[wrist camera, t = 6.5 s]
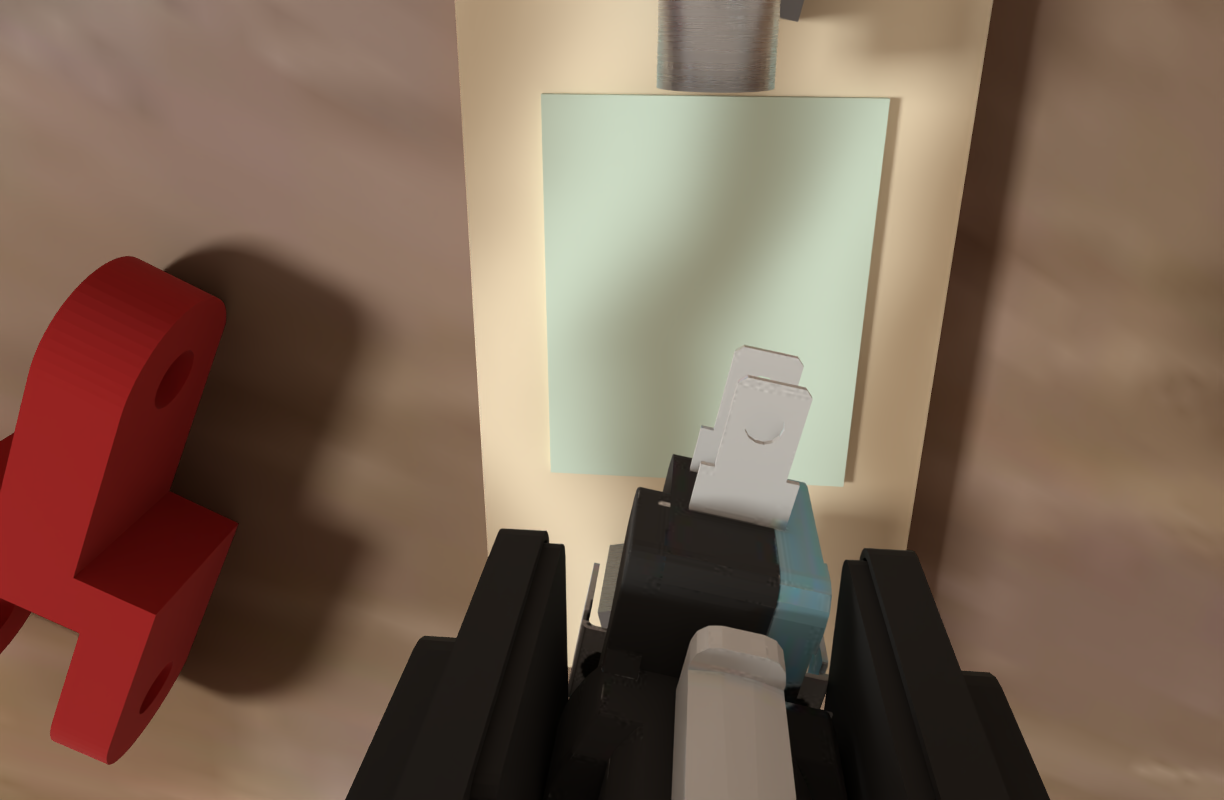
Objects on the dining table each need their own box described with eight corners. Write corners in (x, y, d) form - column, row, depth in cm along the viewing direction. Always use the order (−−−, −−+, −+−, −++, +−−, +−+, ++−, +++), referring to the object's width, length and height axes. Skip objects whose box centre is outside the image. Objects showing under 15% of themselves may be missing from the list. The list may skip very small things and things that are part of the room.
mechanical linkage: (177, 686, 32) (91, 797, 28) (-13, 601, 32) (-134, 701, 27) (320, 314, 26) (239, 379, 22) (86, 197, 25) (-50, 239, 21)
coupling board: (1012, -256, 19) (1042, -280, 17) (875, 655, 29) (886, 695, 27) (456, -244, 20) (434, -266, 18) (504, 631, 30) (492, 668, 28)
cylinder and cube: (851, -303, 18) (906, -421, 13) (762, 693, 28) (774, 840, 23) (612, -296, 18) (577, -409, 13) (609, 682, 28) (588, 825, 23)
